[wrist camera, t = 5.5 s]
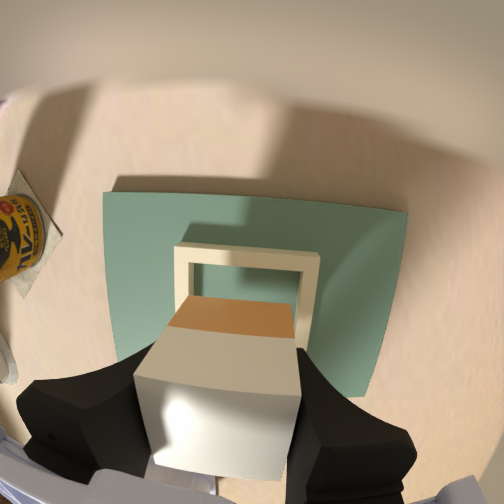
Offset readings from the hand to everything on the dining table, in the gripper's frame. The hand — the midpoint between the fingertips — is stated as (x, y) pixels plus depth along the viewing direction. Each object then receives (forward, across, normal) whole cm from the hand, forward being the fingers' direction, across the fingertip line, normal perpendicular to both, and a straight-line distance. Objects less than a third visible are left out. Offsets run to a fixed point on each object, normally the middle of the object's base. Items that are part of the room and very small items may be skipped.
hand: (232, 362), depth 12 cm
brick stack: (+2, 0, 0) cm, 2 cm away
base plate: (+6, 0, 0) cm, 6 cm away
